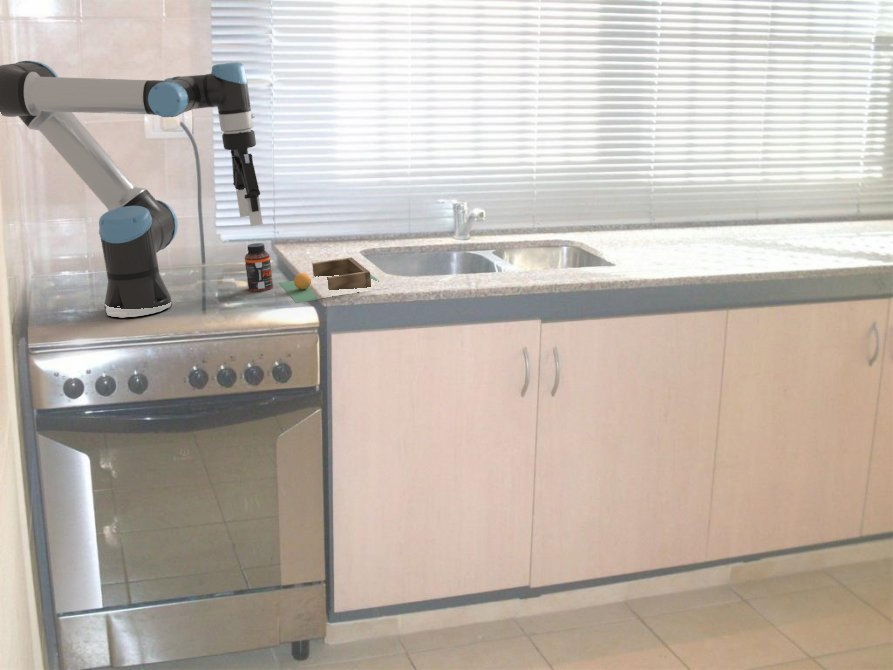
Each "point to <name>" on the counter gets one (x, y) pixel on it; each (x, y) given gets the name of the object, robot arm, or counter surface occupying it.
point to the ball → (302, 281)
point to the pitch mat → (302, 291)
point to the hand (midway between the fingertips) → (251, 220)
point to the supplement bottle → (258, 268)
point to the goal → (343, 274)
